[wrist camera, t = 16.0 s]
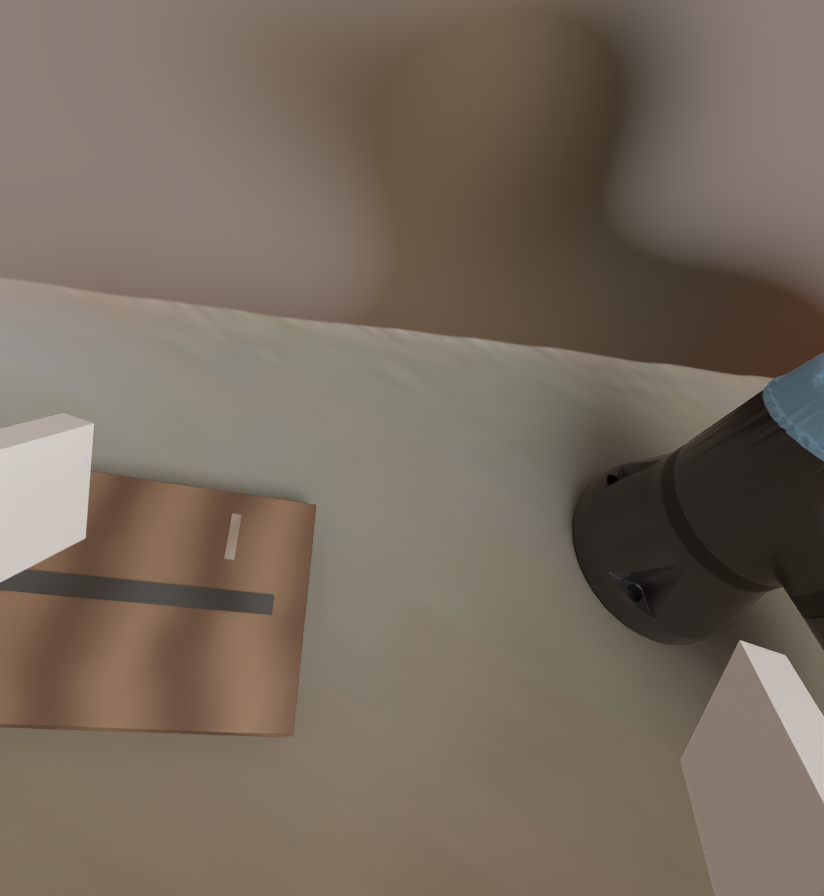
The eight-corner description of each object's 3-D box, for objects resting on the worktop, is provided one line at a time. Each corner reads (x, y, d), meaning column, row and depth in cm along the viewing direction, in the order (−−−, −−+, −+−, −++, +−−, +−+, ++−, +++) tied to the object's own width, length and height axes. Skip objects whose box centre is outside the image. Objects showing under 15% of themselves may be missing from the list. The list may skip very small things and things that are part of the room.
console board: (310, 516, 41) (316, 504, 39) (287, 737, 34) (293, 734, 32) (-93, 459, 34) (-107, 441, 33) (-227, 718, 27) (-254, 714, 26)
